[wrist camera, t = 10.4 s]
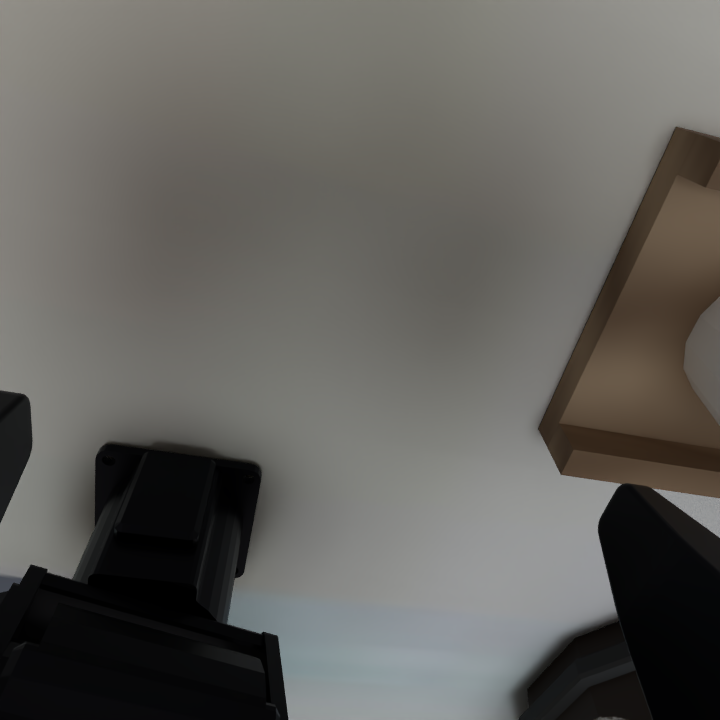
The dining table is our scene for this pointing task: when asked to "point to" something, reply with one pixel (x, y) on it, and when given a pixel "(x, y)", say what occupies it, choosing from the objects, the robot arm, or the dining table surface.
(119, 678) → the robot arm
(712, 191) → the tray
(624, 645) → the black ribbed pot
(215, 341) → the dining table surface
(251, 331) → the dining table surface
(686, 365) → the shot glass
